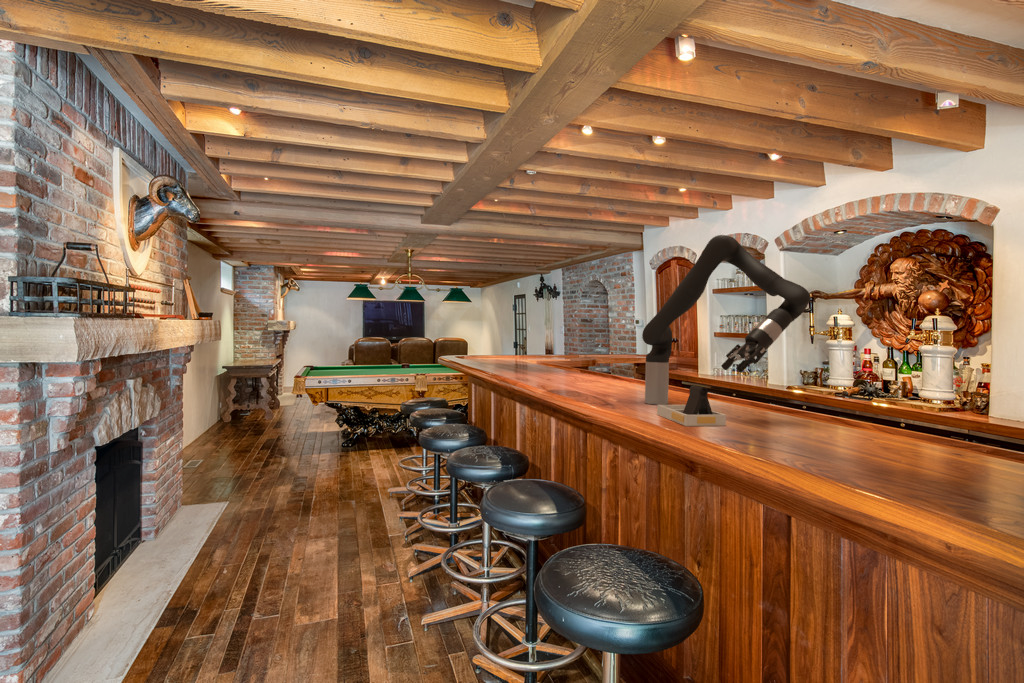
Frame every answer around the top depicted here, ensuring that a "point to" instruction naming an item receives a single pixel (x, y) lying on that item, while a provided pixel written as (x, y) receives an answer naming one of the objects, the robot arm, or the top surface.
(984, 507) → the top surface
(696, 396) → the door stopper
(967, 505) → the top surface
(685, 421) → the tray
